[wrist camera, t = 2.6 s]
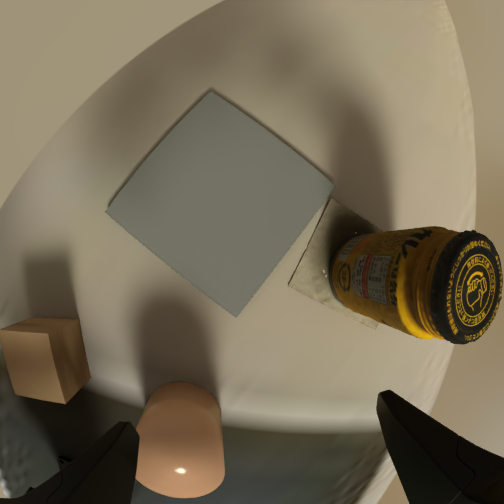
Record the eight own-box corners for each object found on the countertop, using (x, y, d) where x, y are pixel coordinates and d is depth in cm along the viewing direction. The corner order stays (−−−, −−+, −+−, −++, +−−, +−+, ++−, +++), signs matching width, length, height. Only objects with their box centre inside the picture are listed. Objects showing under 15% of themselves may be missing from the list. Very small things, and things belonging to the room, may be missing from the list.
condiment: (374, 329, 22) (481, 377, 10) (287, 285, 21) (370, 322, 9) (408, 250, 22) (522, 248, 10) (329, 198, 21) (432, 150, 10)
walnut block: (91, 377, 19) (65, 404, 14) (44, 372, 19) (15, 394, 14) (79, 318, 19) (48, 333, 14) (33, 317, 19) (-2, 329, 14)
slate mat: (235, 316, 20) (236, 317, 20) (107, 213, 19) (104, 211, 19) (332, 187, 21) (335, 185, 21) (210, 94, 20) (210, 91, 20)
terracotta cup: (215, 446, 20) (217, 503, 13) (145, 433, 20) (127, 486, 13) (226, 389, 20) (232, 441, 13) (149, 374, 20) (125, 421, 13)
